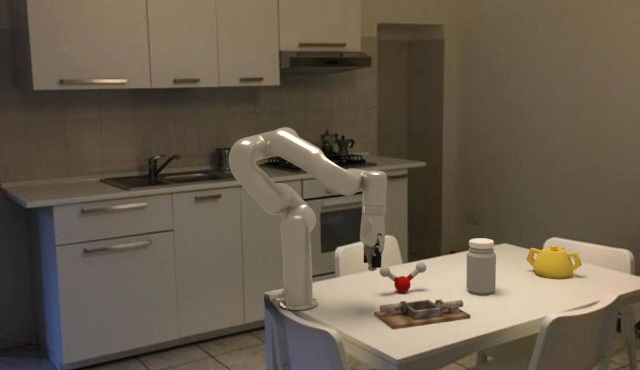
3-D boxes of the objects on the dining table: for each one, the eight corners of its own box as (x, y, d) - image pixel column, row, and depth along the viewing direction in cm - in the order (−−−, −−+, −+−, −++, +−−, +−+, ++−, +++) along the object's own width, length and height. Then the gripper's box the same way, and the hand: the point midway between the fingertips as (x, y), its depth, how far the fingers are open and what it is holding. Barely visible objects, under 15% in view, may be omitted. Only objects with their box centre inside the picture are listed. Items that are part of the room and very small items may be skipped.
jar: (461, 292, 246) (461, 241, 244) (475, 285, 253) (476, 236, 251) (486, 297, 239) (486, 245, 237) (500, 290, 247) (501, 240, 244)
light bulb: (376, 274, 225) (377, 243, 223) (359, 271, 228) (360, 240, 226) (384, 270, 230) (385, 240, 228) (368, 267, 233) (369, 237, 231)
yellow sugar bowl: (587, 270, 270) (588, 242, 269) (576, 282, 255) (577, 252, 253) (534, 264, 281) (535, 237, 279) (520, 275, 266) (521, 246, 264)
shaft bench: (393, 329, 211) (392, 312, 210) (374, 315, 224) (374, 299, 223) (470, 318, 219) (470, 302, 218) (447, 305, 232) (447, 289, 231)
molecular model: (385, 298, 241) (385, 269, 240) (376, 293, 246) (376, 265, 245) (428, 290, 249) (428, 262, 248) (418, 286, 254) (418, 258, 253)
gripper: (352, 205, 233) (351, 259, 235) (373, 215, 217) (372, 272, 219) (374, 204, 235) (372, 257, 238) (396, 214, 219) (394, 271, 222)
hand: (372, 264), depth 228 cm, fingers closed on light bulb, 5 cm apart
